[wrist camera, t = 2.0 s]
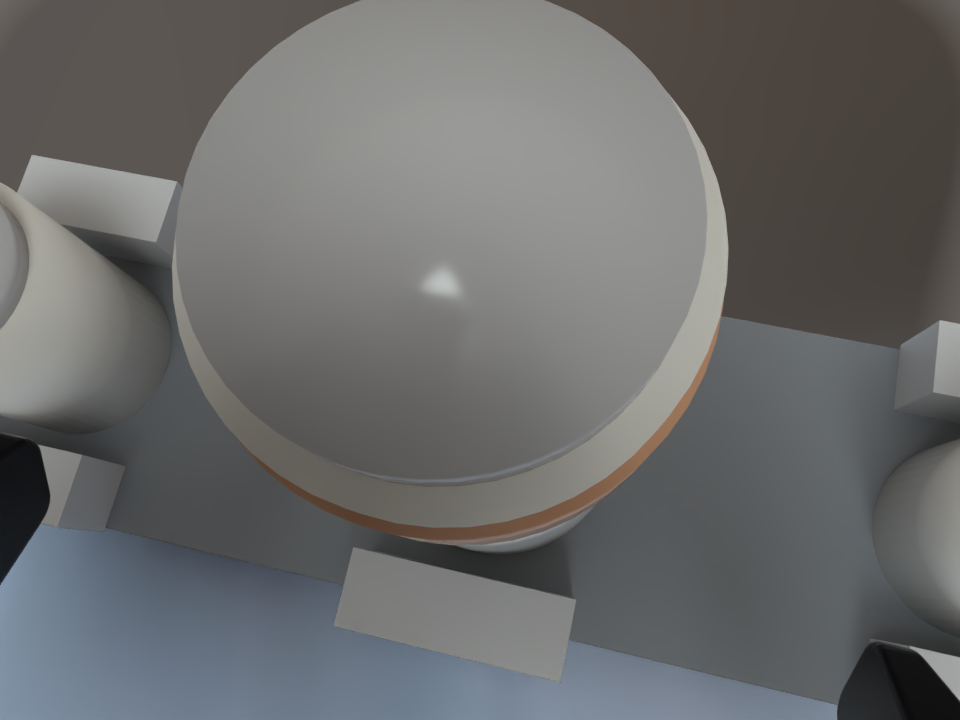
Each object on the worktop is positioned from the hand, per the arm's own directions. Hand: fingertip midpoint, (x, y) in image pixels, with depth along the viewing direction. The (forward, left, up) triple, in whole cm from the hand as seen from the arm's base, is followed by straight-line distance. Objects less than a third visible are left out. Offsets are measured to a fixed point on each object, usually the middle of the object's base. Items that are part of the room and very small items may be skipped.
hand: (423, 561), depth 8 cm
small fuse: (+3, +10, -9) cm, 14 cm away
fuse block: (+3, 0, -10) cm, 10 cm away
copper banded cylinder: (+3, 0, -9) cm, 9 cm away
